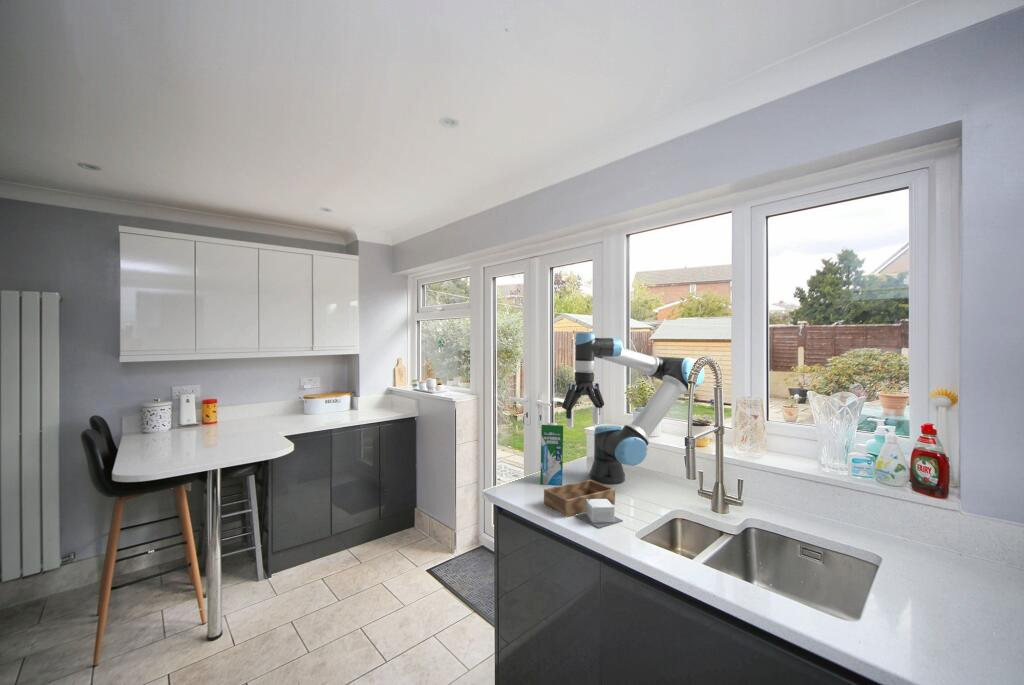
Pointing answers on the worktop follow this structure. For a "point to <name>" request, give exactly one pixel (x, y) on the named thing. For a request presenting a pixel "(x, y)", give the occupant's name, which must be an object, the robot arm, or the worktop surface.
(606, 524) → the rubber pad
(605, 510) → the small box
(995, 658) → the worktop surface
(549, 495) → the walnut frame
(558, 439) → the milk carton
